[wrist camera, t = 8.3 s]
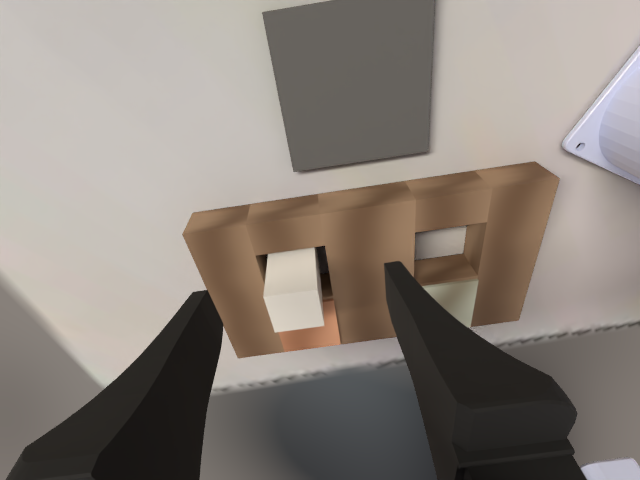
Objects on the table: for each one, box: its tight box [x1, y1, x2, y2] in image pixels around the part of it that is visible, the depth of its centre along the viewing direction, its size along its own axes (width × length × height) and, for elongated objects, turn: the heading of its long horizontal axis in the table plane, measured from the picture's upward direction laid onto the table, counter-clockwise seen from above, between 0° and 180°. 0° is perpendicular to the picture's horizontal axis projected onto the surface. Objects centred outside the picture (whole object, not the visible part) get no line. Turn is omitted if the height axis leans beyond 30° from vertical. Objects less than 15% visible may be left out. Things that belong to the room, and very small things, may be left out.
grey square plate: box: [262, 0, 435, 172], centre depth 18 cm, size 8×8×1 cm
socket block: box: [182, 162, 560, 358], centre depth 24 cm, size 22×12×3 cm, turn 98°
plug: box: [263, 247, 324, 333], centre depth 22 cm, size 3×3×6 cm
